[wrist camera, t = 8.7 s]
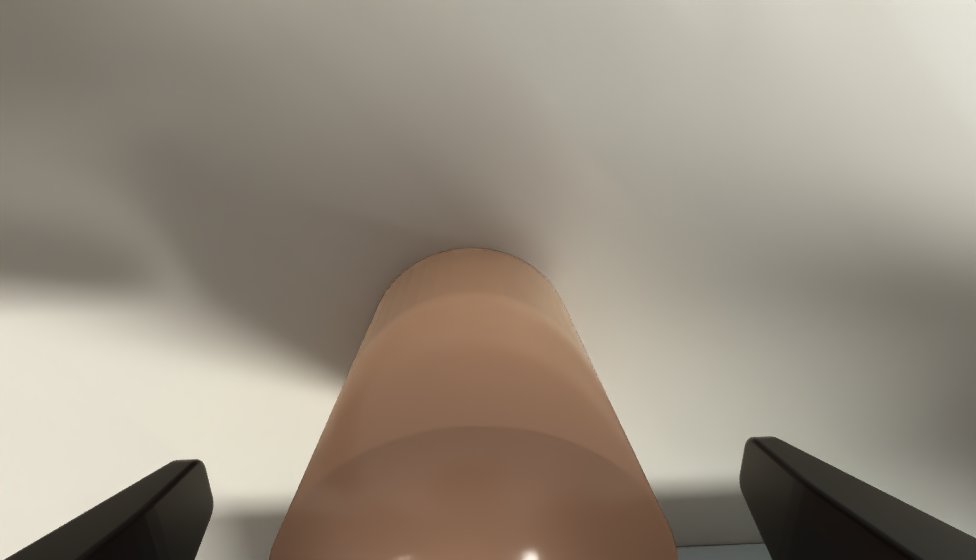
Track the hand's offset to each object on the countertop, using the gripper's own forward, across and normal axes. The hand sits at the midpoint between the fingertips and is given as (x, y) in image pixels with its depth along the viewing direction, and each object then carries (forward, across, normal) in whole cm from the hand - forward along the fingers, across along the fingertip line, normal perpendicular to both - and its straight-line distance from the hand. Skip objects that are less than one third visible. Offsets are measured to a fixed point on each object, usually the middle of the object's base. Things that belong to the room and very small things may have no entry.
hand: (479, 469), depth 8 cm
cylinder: (+5, 0, 0) cm, 5 cm away
